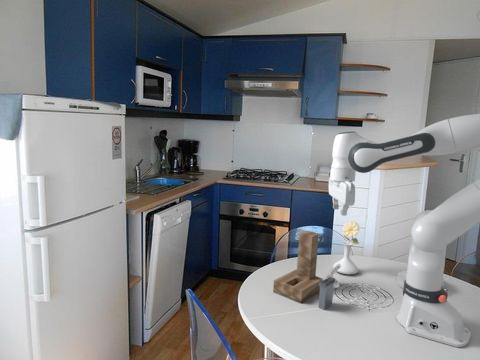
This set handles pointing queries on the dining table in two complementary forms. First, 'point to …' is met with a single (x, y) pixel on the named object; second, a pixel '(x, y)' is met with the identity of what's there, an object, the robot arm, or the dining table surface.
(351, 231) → the flower in vase
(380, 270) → the dining table surface
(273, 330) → the dining table surface
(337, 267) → the white ring with bar
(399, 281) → the food container
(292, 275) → the wooden l-shaped post
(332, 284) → the grey rectangular block
